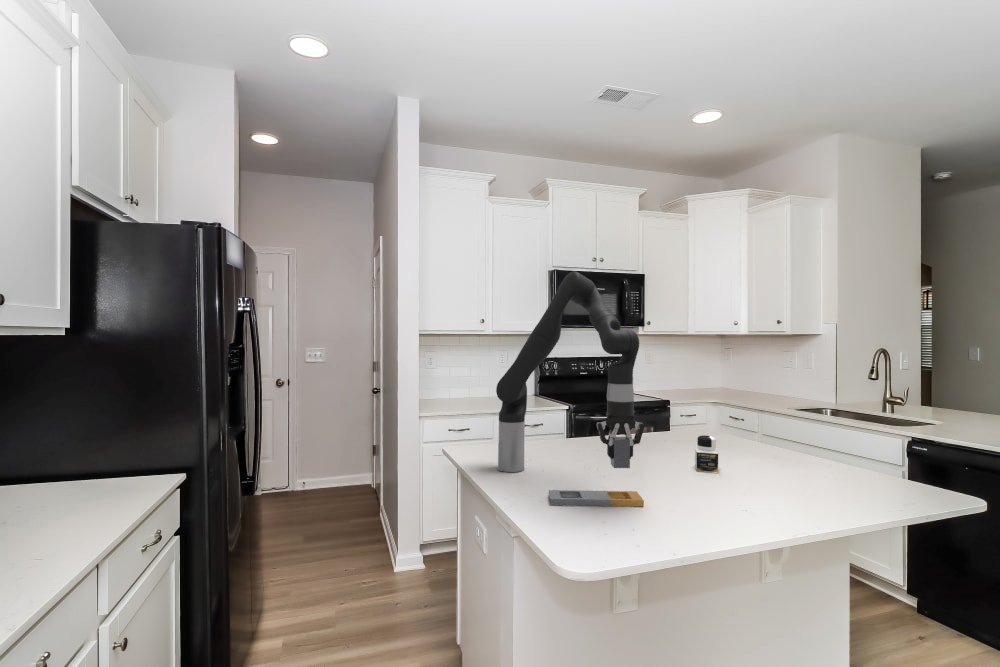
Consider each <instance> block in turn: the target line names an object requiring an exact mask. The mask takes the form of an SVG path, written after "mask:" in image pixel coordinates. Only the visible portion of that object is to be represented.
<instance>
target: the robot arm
mask: <svg viewBox="0 0 1000 667" xmlns="http://www.w3.org/2000/svg"><path fill="white" fill-rule="evenodd" d="M570 301H571V302H573V303H575V304H576V305H579V306H581V307H583V308H584V309H585V310H586V311H587V312H588V317H589V318H588V319H589V321H590V323H591V325H592V327H593V328H594V329H595V330H596V332H597V333H598V336H599V339H600V343H601V347H602V349H603V351H604V352H606V353H607V354H609V355H620V356H621V357H620V359H619V360H618V361H616V362H612V363H610V364H609V365H608V367H607V390H606V419H604V421H601V422H599V421H597V422H596V428H597V431H598V435H599V438H600V441H601V443H603V444H605V445H607V446H606V451H607V452H606V453H607V457H609V460H611V459H613V446H612V445H613V439H615V437H617V436H618V435H623V436H624V437H626V438H627V439H629V440H630V460H631V459H632V458H633V456H634V446H635V445H638V444H639V445H640V444H641V440H642V437H643V434H644V430H645V424H644V423H643V422H640V421H639V422H638V421H636V420H635V407H634V406H635V404H634V400H635V399H634V398H635V396H634V395H635V392H634V391H635V390H634V367H635V364H636V361H637V360H636V359H637V356H638V353H639V349H640V339H639V336H638V333H637V332H636V331H634V330H633V329H632V330H630V329H621V328H622V326H621V322H620V321H619V319H618V318H617V317H616V316H615V314H613V312H612V311H611V309H610V308H609V307H608V306H607V305H606V303H605V302H604V300H603V298H602V297H601V294H600V292H599V289H598V288H597V286H596V284H595V283H594V282H593V280H591V279H589V278H588V277H586V276H585V275H583V274H581V273H580V272H578V271H571V272H569V273H568V274H567V275H566V276H565V277H564V278H563V280H562V281H560V284H559V286H558V288H557V290H556V292H555V294H554V296H553V297H552V300H551V302H550V303H549V305H548V307H547V308H546V310H545V312H544V313H543V315H541V316H542V317H541V318H540V320H539V321H538V322H537V324H536V325H535V327H534V328H533V330H532V332H531V333H530V335H529V336H528V337H527V340H526V342H524V345H523V346H522V348H521V349H520V351H519V353H518V355H517V357H516V359H515V360H514V362H512V364H511V366H510V367H509V368H508V369H507V371H506V372H505V373H504V374H503V376H502V377H501V378H500V379H499V381H498V382H497V385H496V388H495V390H496V391H495V393H496V396H497V398H498V399H499V400H500V401H501V402H502V403H501V409H500V411H499V413H498V444H497V445H498V446H497V447H498V448H497V449H498V450H497V459H498V460H497V466H498V467H497V470H498V472H505V473H519V472H522V471H524V470H525V427H526V426H525V419H526V418H525V417H526V414H527V406H528V405H527V402H528V387H527V381H528V379H529V378H530V377H531V375H532V374H533V372H534V371H536V369H537V368H538V367H539V366H540V365H542V363H543V362H544V361H545V360H546V359H547V357H549V355H550V354H551V353H552V351H553V349H555V346H556V345H557V343H558V342H559V340H560V339H561V338H560V337H561V332H562V317H563V314H564V312H565V309H566V307H567V305H568V303H569V302H570ZM606 426H607V428H608V429H609V432H608V438H607V437H606V435H605V432H604V430H605V429H606ZM634 427H635V429H636V432H635V433H634V437H633V436H632V434H631V433H632V432H631V431H632V430H633V428H634Z"/></svg>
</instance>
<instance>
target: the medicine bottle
mask: <svg viewBox="0 0 1000 667" xmlns="http://www.w3.org/2000/svg"><path fill="white" fill-rule="evenodd" d="M696 442H697V444H696V445H697V446H696V447H695V448H694V467H695V471H696V472H700V471H703V472H702V473H704V472H705V473H712V472H717V473H716V474H718V473H719V452H718V450H717V448H716V447H717V446H716V445H717V444H716V442H717V439H716V437H714V436H711V435H705V434H704V435H699V436H698V437H697V440H696Z"/></svg>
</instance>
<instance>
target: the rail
mask: <svg viewBox="0 0 1000 667" xmlns="http://www.w3.org/2000/svg"><path fill="white" fill-rule="evenodd" d="M569 497H580V498H569ZM627 498H628V499H627ZM548 499H550V500H549V502H550V503H551V504H550V506H563V505H585V506H584V507H628V506H644V505H645V503H644V502H645V499H643V498H642V496H641V495H640V493H639V492H638V491H636V490H635V491H633V490H629V491H628V490H621V491H620V490H574V489H573V490H571V489H570V490H567V489H566V490H565V489H549V490H548ZM644 507H645V506H644Z"/></svg>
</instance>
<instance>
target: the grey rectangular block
mask: <svg viewBox="0 0 1000 667" xmlns="http://www.w3.org/2000/svg"><path fill="white" fill-rule="evenodd" d="M612 446H613V459H610V465H611V466H612V468H614V469H630V468H631V459H630V440H629V439H627V438H626V436H616V437H615V439H613V445H612Z"/></svg>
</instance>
